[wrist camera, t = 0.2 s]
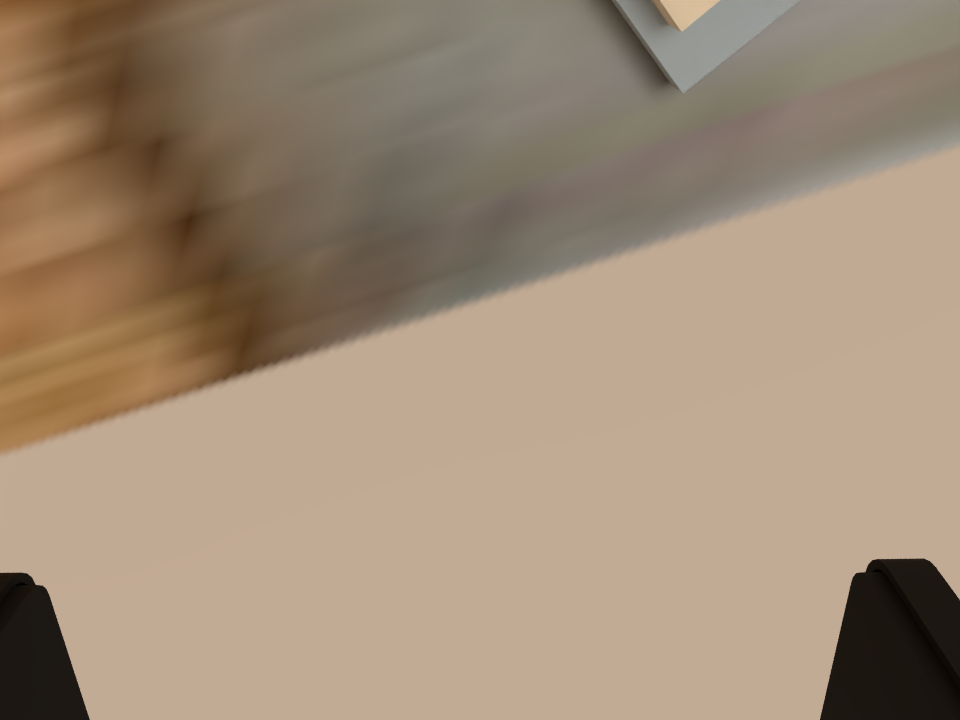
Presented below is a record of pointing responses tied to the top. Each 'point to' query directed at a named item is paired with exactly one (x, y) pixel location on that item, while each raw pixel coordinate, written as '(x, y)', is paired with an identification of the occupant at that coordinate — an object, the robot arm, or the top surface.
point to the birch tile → (682, 11)
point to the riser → (699, 35)
